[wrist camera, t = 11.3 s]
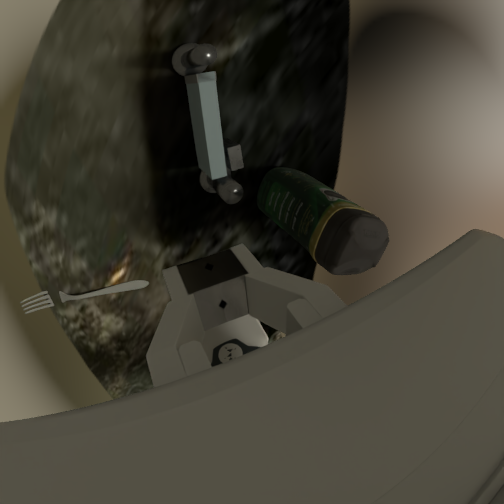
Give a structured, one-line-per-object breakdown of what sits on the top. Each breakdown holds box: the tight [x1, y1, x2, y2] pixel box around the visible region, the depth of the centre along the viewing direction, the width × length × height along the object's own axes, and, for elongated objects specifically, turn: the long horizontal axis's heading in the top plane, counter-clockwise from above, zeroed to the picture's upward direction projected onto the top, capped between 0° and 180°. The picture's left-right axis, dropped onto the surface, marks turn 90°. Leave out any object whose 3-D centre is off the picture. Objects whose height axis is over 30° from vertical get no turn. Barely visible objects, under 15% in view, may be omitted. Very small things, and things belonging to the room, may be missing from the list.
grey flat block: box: [184, 71, 227, 180], centre depth 30 cm, size 12×2×6 cm, turn 5°
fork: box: [20, 280, 149, 314], centre depth 37 cm, size 3×24×2 cm, turn 83°
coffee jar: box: [257, 167, 389, 275], centre depth 37 cm, size 10×8×19 cm
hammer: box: [199, 139, 244, 204], centre depth 34 cm, size 7×5×6 cm
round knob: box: [172, 43, 217, 76], centre depth 25 cm, size 4×4×6 cm
